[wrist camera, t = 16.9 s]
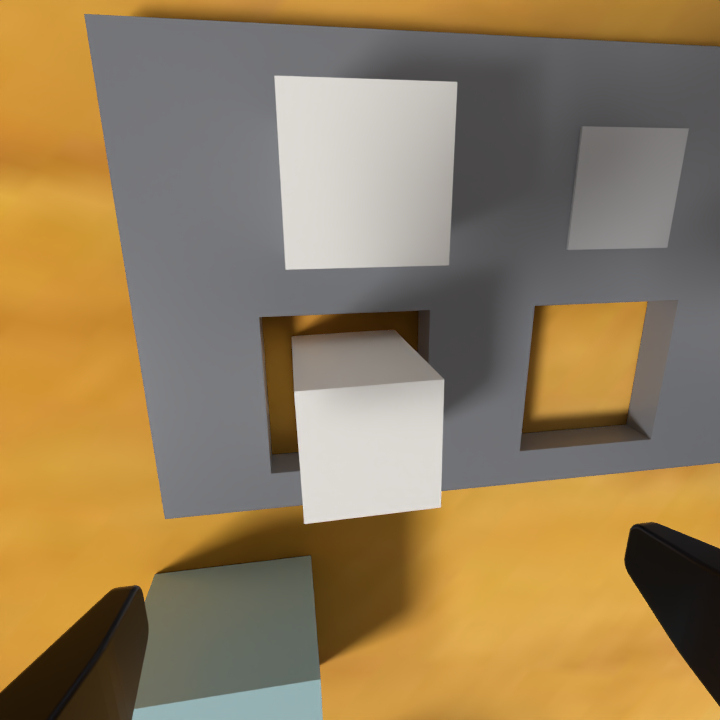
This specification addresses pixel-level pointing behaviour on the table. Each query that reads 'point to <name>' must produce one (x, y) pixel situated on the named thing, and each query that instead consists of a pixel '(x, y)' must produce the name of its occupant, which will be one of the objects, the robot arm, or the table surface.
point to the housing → (232, 644)
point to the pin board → (460, 306)
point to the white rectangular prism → (366, 425)
